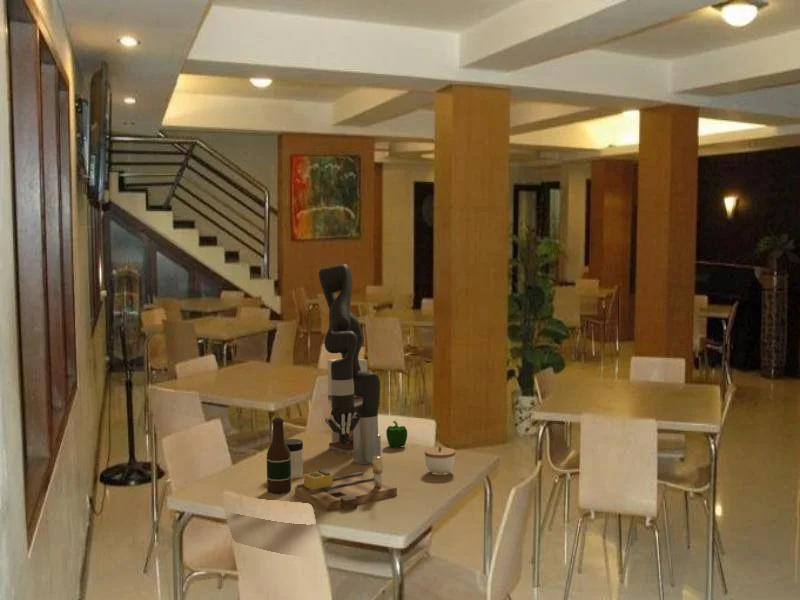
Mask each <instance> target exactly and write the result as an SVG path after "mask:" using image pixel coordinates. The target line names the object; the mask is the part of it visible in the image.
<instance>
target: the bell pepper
mask: <svg viewBox="0 0 800 600" xmlns="http://www.w3.org/2000/svg"><path fill="white" fill-rule="evenodd" d="M392 422H393V424H394V425H393V426H392V425H389V426H388V427H387V428H386V433H385V435H386V440H387V443H388V446H389V447H390V446H391V447H390V448H392V447H398V448H401V447H400V446H404V447H405V445H406V444H407V443H406V442H407V439H408V430H407V427H406V426H405V425H401V426H398V422H397V421H396V420H393V421H392Z"/></svg>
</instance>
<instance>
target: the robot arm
mask: <svg viewBox="0 0 800 600" xmlns="http://www.w3.org/2000/svg"><path fill="white" fill-rule="evenodd" d="M318 278H319V283H320V286H321V289H322V292H323V295H324V298H325V301H326V303H327V306H328V309H329V312H328V321H329V324H328V325H329V326H328V329H327V332H326V335H325V338H324V348H325V350H326V351H327V352H328V353H330V354H340V355H341V358H342V359H339V358H338V359H339V360H336V361H333V362H332V363H331V404H330V407H331V406H332V412H331V411H330V415H329V417H326V418H325V420H324V421H325V423H326V424H327V425H328V426H329V427H330V430H331V429H332V430H333V431H334V432H337V433H339V442H340V443H341V445H347V444H348V442H349V432H350V431H353V452H352V454H353V456H352V457H353V462H354V463H355V462H357V463H356V464H359V463H371V464H373V456H382V455H381V454H382V453H381V452H382V451H381V446H382V445H381V435H380V434H379V409H380V404H381V403H380V401H381V400H380V399H381V380H380V377H379V375H378V374H377V373H375V372H372V371H371V372H369V371H368V372H363V371H361V368H360V365H359V360H358V359H359V354H360V351H361V349H362V346H363V343H364V337H363V332H362V329H361V325H360V321H359V320H358V318H357V317H356V316H355V315H354V314H353V313H352V312H351V310H350V309H351V302H352V291H353V275H352V272H351V269H350V266H349V265H348V264H347V263H341V264H335V265H331V266H327V267H322V268H320V270H319V272H318ZM338 292H339V293H338ZM335 293H338V295H337V296H336V294H335ZM354 395H355V396H361V397H363V403H362V404H361V405H358V406H356V407H354ZM334 420H335V421H336V424H337V426H336V424H335V423H334V422H335V421H334Z"/></svg>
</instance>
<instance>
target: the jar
mask: <svg viewBox="0 0 800 600" xmlns="http://www.w3.org/2000/svg"><path fill="white" fill-rule="evenodd" d="M284 440H285V443H286V445H287V446H288V448H289V450H290V456H291V480H294V479H297V478H302V477H304V450H303V449H304V448H303V447H304V444H303V440H302V439H299V438H288V439H287V438H285V439H284Z"/></svg>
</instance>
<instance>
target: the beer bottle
mask: <svg viewBox="0 0 800 600" xmlns="http://www.w3.org/2000/svg"><path fill="white" fill-rule="evenodd" d="M271 422H272V437H271V438H272V440H271V444H270V446H268V450H267V452H266V487H267V492H268V493H270V494H272V495H284V494H285V495H286V494H289V492H291V490H292V479H291V456H290V450H289V448H288V446H287V445H286V443H285V440H286V439H285V433H284V422H285V421H284V418H281V417H275V418H273V419H272V421H271Z"/></svg>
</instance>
